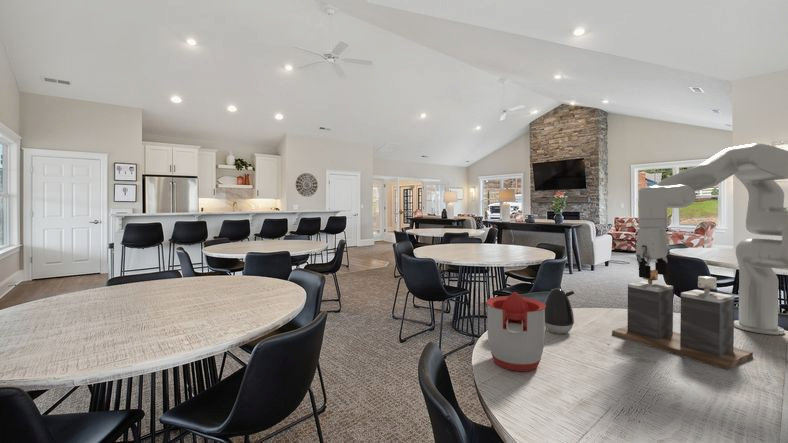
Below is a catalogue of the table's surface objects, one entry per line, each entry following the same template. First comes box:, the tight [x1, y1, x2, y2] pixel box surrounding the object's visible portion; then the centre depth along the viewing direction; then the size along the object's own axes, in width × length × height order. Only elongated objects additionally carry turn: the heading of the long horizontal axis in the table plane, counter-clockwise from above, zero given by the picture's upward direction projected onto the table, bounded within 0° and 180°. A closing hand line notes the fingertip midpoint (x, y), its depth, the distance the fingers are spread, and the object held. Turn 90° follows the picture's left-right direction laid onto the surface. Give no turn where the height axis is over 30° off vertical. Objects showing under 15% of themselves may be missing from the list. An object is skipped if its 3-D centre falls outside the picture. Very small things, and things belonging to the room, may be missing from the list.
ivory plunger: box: [697, 275, 718, 295], centre depth 102 cm, size 7×7×20 cm
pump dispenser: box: [543, 287, 575, 335], centre depth 123 cm, size 10×10×15 cm
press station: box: [611, 280, 754, 370], centre depth 109 cm, size 16×30×18 cm, turn 27°
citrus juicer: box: [485, 291, 546, 372], centre depth 97 cm, size 16×17×20 cm
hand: (653, 276), depth 115 cm, fingers open, 9 cm apart
